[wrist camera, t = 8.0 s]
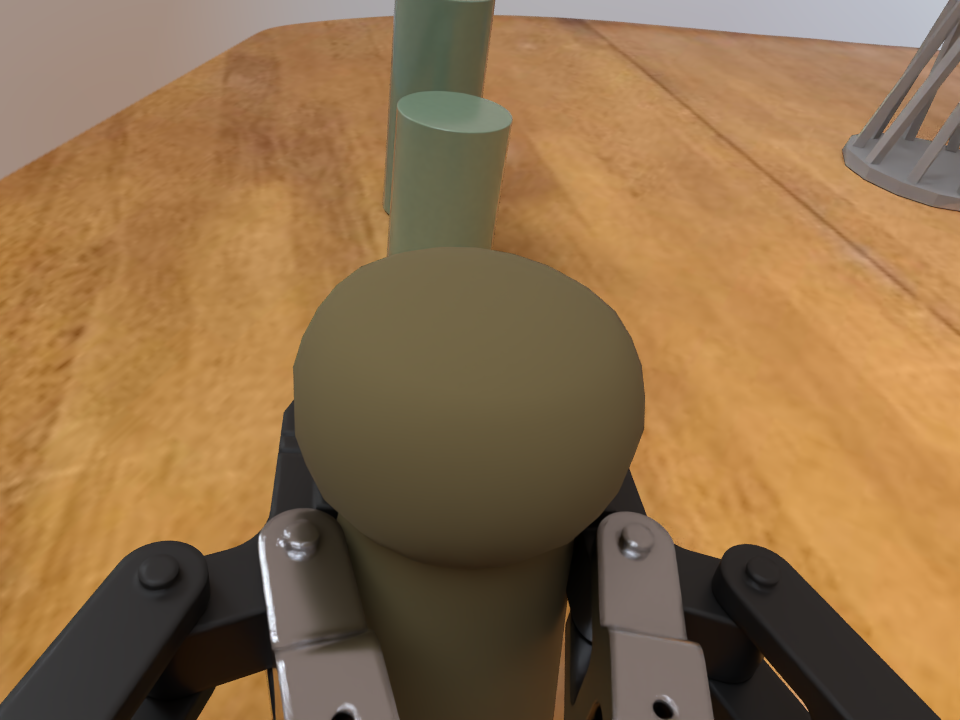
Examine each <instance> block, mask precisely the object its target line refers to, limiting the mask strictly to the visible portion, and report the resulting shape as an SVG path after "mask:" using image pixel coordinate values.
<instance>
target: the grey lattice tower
mask: <svg viewBox="0 0 960 720" xmlns="http://www.w3.org/2000/svg"><path fill="white" fill-rule="evenodd" d="M944 40H945V41H944ZM943 42H944V43H943ZM942 43H943V46H942V48H941V50H940V52H939V54H938V57H937V59H936V61H935V63H934V65H933V68H932V70H931V72H930V74H929V77H928V78H927V79H926V81H925V82H924V83H923V84H922V86H921V87H920V88H919V90H918V91H917V92H916V94H915V95H914V96H913V97H912V99H911V100H910V101H909V103H908V104H907V105H906V107H905V108H904V109H903V110H902V112H901V113H900V114H899V116H898V117H897V118H896V120H895V121H894V122H893V123H892V125H891V126H890V127H889V129H888V130H887V131H886V132H885V133H882V132H883V131H884V129H885V128H886V126H887V124H888V123H889V121H890V120H891V118H892V116H893V115H894V113H895V112H896V110H897V109H898V107H899V105H900V104H901V102H902V101H903V99H904V97H905V96H906V94H907V93H908V91H909V89H910V88H911V86H912V85H913V83H914V82H915V80H916V78H917V77H918V75H919V74H920V72H921V71H922V69H923V68H924V67H925V65H926V64H927V63H928V61H929V60H930V59H931V57H932V56H933V55H934V54H935V52H936V51H937V50H938V48H939V47H940V46H941V44H942ZM959 62H960V0H949V1H948V3H947V5H946V6H945V8H944V9H943V11H942V13H941V14H940V16H939V18H938V19H937V21H936V22H935V24H934V26H933V27H932V29H931V30H930V32H929V34H928V35H927V37H926V38H925V40H924V42H923V43H922V45H921V47H920V48H919V50H918V51H917V53H916V55H915V56H914V58H913V59H912V61H911V63H910V64H909V66H908V67H907V69H906V71H905V72H904V74H903V76H902V77H901V78H900V80H899V81H898V82H897V84H896V85H895V86H894V88H893V89H892V90H891V92H890V93H889V94H888V96H887V97H886V99H885V100H884V101H883V103H882V104H881V105H880V107H879V108H878V109H877V111H876V112H875V113H874V115H873V116H872V117H871V119H870V120H869V122H868V123H867V124H866V126H865V127H864V128H863V130H862V131H861V132H860V134H857V135H852V136H851V137H850V139H849V140H848V142H847V143H846V145H845V146H844V148H843V149H842V151H843V156H844V160H845V165H846V166H848V167H849V168H850V169H852V170H853V171H854V172H856V173H857V174H858V175H860V176H861V177H862V178H863V179H865V180H867V181H869V182H871V183H873V184H875V185H877V186H880V187H882V188H884V189H886V190H888V191H890V192H892V193H894V194H896V195H899V196H902V197H906V198H909V199H912V200H915V201H918V202H921V203H924V204H927V205H930V206H934V207H939V208H945V209H951V210H957V211H960V150H959V146H960V102H959V103H958V105H957V106H956V107H955V109H954V110H953V112H952V113H951V115H950V116H949V118H948V119H947V121H946V122H945V123H944V125H943V126H942V128H941V129H940V131H939V132H938V134H937V135H936V137H935V138H934V140H933V141H929V140H924V139H919V138H915V137H916V135H917V133H918V131H919V129H920V126H921V124H922V122H923V120H924V118H925V116H926V114H927V112H928V109H929V107H930V105H931V103H932V101H933V99H934V97H935V95H936V92H937V90H938V88H939V87H940V86H941V85H942V83H943V82H944V81H945V79H946V78H947V77H948V76H949V74H950V73H951V72H952V71H953V69H954V68H955V67H956V65H957V64H958V63H959ZM949 138H950V139H949ZM948 139H949V142H948V145H947V146H946V145H945V144H946V142H947V141H948Z"/></svg>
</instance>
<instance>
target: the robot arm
mask: <svg viewBox="0 0 960 720" xmlns="http://www.w3.org/2000/svg"><path fill="white" fill-rule="evenodd" d="M337 516H338V512H337V511H336V510H335V509H334V508H333V507H332V506H331V505H329V504H328V503H327V502H326V501H325V500H324V499H323V497H322V495H321V493H320V491H319V489H318V487H317V485H316V483H315V481H314V479H313V477H312V475H311V474H310V472H309V470H308V468H307V466H306V464H305V461H304V458H303V456H302V453H301V450H300V447H299V445H298V442H297V439H296V436H295V417H294V400H293V401H292V403H291V404H290V405H289V407H288V408H287V409H286V410H285V412H284V415H283V422H282V430H281V437H280V444H279V453H278V459H277V466H276V474H275V481H274V488H273V496H272V503H271V510H270V515H269V518H268V520H267V522H266V524H265V525H264V527H263V528H262V530H261V531H260V532H259V533H258V534H257V535H255V536H254V537H253V538H252V539H250V540H249V541H247V542H245V543H244V544H241V545H239V546H237V547H234V548H231V549H228V550H224V551H221V552H217V553H213V554H209V555H205V556H203V554H202V553H201V552H200V551H199V550H198V549H196V548H195V547H193V546H191V545H189V544H186V543H183V542H179V541H160V542H154V543H151V544H147V545H145V546H142V547H140V548H138V549H136V550H134V551H133V552H131V553H130V554H128V555H127V556H126V557H124V558H123V559H122V560H121V561H120V562H119V564H118V565H117V566H116V567H115V568H114V570H113V571H112V572H111V573H110V574H109V575H108V577H107V578H106V579H105V580H104V581H103V583H102V584H101V585H100V586H99V587H98V589H97V590H96V591H95V592H94V593H93V595H92V596H91V597H90V598H89V599H88V601H87V602H86V603H85V604H84V605H83V606H82V608H81V609H80V610H79V611H78V612H77V614H76V615H75V616H74V617H73V618H72V620H71V621H70V622H69V623H68V624H67V626H66V627H65V628H64V629H63V630H62V632H61V633H60V634H59V635H58V636H57V637H56V639H55V640H54V641H53V642H52V643H51V645H50V646H49V647H48V648H47V649H46V651H45V652H44V653H43V654H42V655H41V657H40V658H39V659H38V660H37V661H36V662H35V664H34V665H33V666H32V667H31V668H30V670H29V671H28V672H27V673H26V674H25V676H24V677H23V678H22V679H21V680H20V682H19V683H18V684H17V685H16V686H15V688H14V689H13V690H12V691H11V692H10V693H9V695H8V696H7V697H6V698H5V699H4V701H3V702H2V703H1V704H0V720H197V718H198V716H199V715H200V713H201V711H202V710H203V708H204V706H205V705H206V703H207V701H208V700H209V698H210V696H211V695H212V693H213V691H214V689H215V687H216V686H218V685H221V684H224V683H227V682H230V681H233V680H236V679H239V678H242V677H245V676H248V675H251V674H254V673H257V672H260V671H263V670H266V677H267V685H268V693H269V701H270V709H271V717H272V720H400V719H399V715H398V712H397V708H396V704H395V700H394V696H393V692H392V688H391V684H390V680H389V677H388V673H387V669H386V665H385V661H384V657H383V653H382V649H381V646H380V642H379V639H378V636H377V634H376V632H375V631H374V630H369V628H368V626H367V623H366V619H365V615H364V611H363V607H362V603H361V599H360V595H359V591H358V587H357V583H356V579H355V575H354V571H353V567H352V563H351V558H350V554H349V550H348V545H347V542H346V538H345V534H344V531H343V529H342V527H341V525H340V524H339V522H338V521H337ZM566 593H567V597H568V602H569V606H570V613H569V616H568V619H567V622H566V627H565V697H564V720H941V719H940V718H939V717H938V716H937V715H936V714H935V713H934V712H933V711H932V710H931V708H930V707H929V706H928V705H927V704H926V703H925V702H924V701H923V700H922V699H921V698H920V697H919V696H918V695H917V694H916V693H915V692H914V691H913V690H912V689H911V688H910V687H909V686H908V685H907V684H906V683H905V682H904V681H903V680H902V679H901V678H900V677H899V676H898V675H897V674H896V673H895V672H894V671H893V670H892V669H891V668H890V667H889V666H888V664H887V663H886V662H885V661H884V660H883V659H882V658H881V657H880V656H879V655H878V654H877V653H876V652H875V651H874V650H873V649H872V648H871V647H870V646H869V645H868V644H867V643H866V642H865V641H864V640H863V639H862V638H861V637H860V636H859V635H858V634H857V633H856V632H855V631H854V630H853V629H852V628H851V627H850V626H849V625H848V624H847V623H846V622H845V621H844V619H843V618H842V617H841V616H840V615H839V614H838V613H837V612H836V611H835V610H834V609H833V608H832V607H831V606H830V605H829V604H828V603H827V602H826V601H825V600H824V599H823V598H822V597H821V596H820V595H819V594H818V593H817V592H816V591H815V590H814V589H813V588H812V587H811V586H810V585H809V584H808V583H807V582H806V581H805V580H804V579H803V578H802V577H801V575H800V574H799V573H798V572H797V571H796V570H795V569H794V568H793V567H792V566H791V565H790V564H789V563H788V562H787V561H785V560H784V559H783V558H782V557H780V556H779V555H778V554H776V553H774V552H772V551H771V550H768V549H766V548H764V547H760V546H757V545H751V544H741V545H736V546H733V547H731V548H729V549H728V550H727V551H726V552H725V553H724V555H723V557H722V559H718V558H715V557H711V556H708V555H704V554H700V553H697V552H693V551H690V550H687V549H684V548H681V547H679V546H677V545H675V544H674V543H673V540H672V538H671V536H670V535H669V533H668V532H667V531H666V530H665V529H664V527H662V526H661V525H660V524H659V523H658V522H656V521H655V520H653V519H651V518H649V517H647V515H646V513H645V510H644V507H643V504H642V502H641V499H640V496H639V494H638V491H637V488H636V486H635V483H634V480H633V478H632V475H631V472H630V470H629V469H628V471H627V474H626V476H625V478H624V481H623V483H622V485H621V488H620V490H619V492H618V494H617V495H616V496H615V497H614V499H613V500H612V501H611V502H610V504H609V505H608V506H607V507H606V509H605V510H604V511H603V512H602V513H601V515H600V516H599V517H598V518H597V519H596V520H594V521H593V522H592V523H591V524H590V525H589V526H588V527H586V528H585V529H584V530H583V531H582V532H581V533H580V534H578V535H577V536H576V537H575V538H574V546H573V555H572V561H571V566H570V572H569V577H568V582H567V588H566ZM764 657H765V658H766V659H767V660H768V661H769V662H770V664H771V665H772V666H773V667H774V668H775V669H776V671H777V672H778V673H779V674H780V675H781V676H782V678H783V679H784V680H785V681H786V682H787V683H788V685H789V686H790V687H791V688H792V689H793V690H794V692H795V693H796V694H797V695H798V696H799V697H800V699H801V700H802V701H803V702H804V704H805V705H806V707H807V709H808V711H809V712H808V711H807V710H806V709H805V707H804V706H803V705H802V704H801V703H800V701H799V700H798V699H797V698H796V697H795V696H794V694H793V693H792V692H791V691H790V690H789V689H788V687H787V686H786V685H785V684H784V683H783V682H782V680H781V679H780V678H779V677H778V676H777V675H776V673H775V672H774V671H773V670H772V669H771V667H770V666H769V665H768V664H767V663H766V662H765V660H764V659H763V658H764Z"/></svg>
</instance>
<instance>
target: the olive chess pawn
mask: <svg viewBox="0 0 960 720" xmlns="http://www.w3.org/2000/svg"><path fill="white" fill-rule="evenodd" d="M293 375H294V417H295V436H296V439H297V442H298V445H299V447H300V450H301V453H302V456H303V458H304V461H305V464H306V466H307V468H308V470H309V472H310V474H311V475H312V477H313V479H314V481H315V483H316V485H317V487H318V489H319V491H320V493H321V495H322V497H323V499H324V500H325V501H326V502H327V503H328V504H329V505H331V506H332V507H333V508H334V509H335V510H336V511H337V512H338V516H337V521H338V522H339V524H340V525H341V527H342V529H343V531H344V534H345V538H346V542H347V545H348V550H349V554H350V558H351V563H352V567H353V571H354V575H355V579H356V583H357V587H358V591H359V595H360V599H361V603H362V607H363V611H364V615H365V619H366V623H367V626H368V628H369V630H374V631H375V632H376V634H377V636H378V639H379V642H380V646H381V649H382V653H383V657H384V661H385V665H386V669H387V673H388V677H389V680H390V684H391V688H392V692H393V696H394V700H395V704H396V708H397V712H398V715H399V719H400V720H553V716H554V708H555V699H556V691H557V683H558V674H559V666H560V657H561V649H562V641H563V632H564V624H565V615H566V607H567V598H568V597H567V593H566V588H567V582H568V577H569V572H570V566H571V561H572V555H573V546H574V538H575V537H576V536H577V535H578V534H580V533H581V532H582V531H583V530H584V529H585V528H586V527H588V526H589V525H590V524H591V523H592V522H593V521H594V520H596V519H597V518H598V517H599V516H600V515H601V513H602V512H603V511H604V510H605V509H606V507H607V506H608V505H609V504H610V502H611V501H612V500H613V499H614V497H615V496H616V495H617V494H618V492H619V490H620V488H621V485H622V483H623V481H624V478H625V476H626V474H627V471H628V469H629V467H630V464H631V462H632V460H633V457H634V455H635V452H636V449H637V447H638V444H639V441H640V439H641V436H642V433H643V430H644V414H645V393H644V383H643V374H642V365H641V362H640V360H639V357H638V354H637V351H636V349H635V346H634V343H633V341H632V338H631V336H630V335H629V333H628V331H627V330H626V328H625V326H624V325H623V323H622V321H621V320H620V318H619V317H618V315H617V313H616V312H615V311H614V310H613V309H612V308H611V307H610V306H609V305H607V304H606V303H605V302H604V301H603V300H602V299H600V298H599V297H598V296H597V295H596V294H595V293H594V292H592V291H591V290H590V289H589V288H587V287H586V286H584V285H582V284H581V283H579V282H577V281H576V280H574V279H572V278H570V277H568V276H566V275H564V274H563V273H561V272H559V271H557V270H555V269H553V268H552V267H550V266H548V265H545V264H542V263H539V262H536V261H533V260H530V259H527V258H524V257H521V256H518V255H515V254H511V253H506V252H500V251H494V250H489V249H483V248H477V247H435V248H428V249H421V250H414V251H407V252H403V253H398V254H394V255H391V256H389V257H386V258H383V259H380V260H378V261H375V262H372V263H370V264H367V265H364V266H361V267H360V268H359V269H357V270H356V271H355V272H353V273H352V274H351V275H350V276H348V277H347V278H346V279H344V280H343V281H342V282H340V283H339V284H338V285H336V287H335V288H334V289H333V290H332V291H331V293H330V294H329V295H328V296H327V298H326V299H325V300H324V301H323V302H322V304H321V305H320V306H319V307H318V309H317V311H316V313H315V314H314V316H313V318H312V320H311V322H310V324H309V326H308V328H307V329H306V331H305V333H304V335H303V337H302V340H301V344H300V347H299V350H298V353H297V356H296V360H295V363H294V366H293Z"/></svg>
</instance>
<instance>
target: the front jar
mask: <svg viewBox="0 0 960 720" xmlns="http://www.w3.org/2000/svg"><path fill="white" fill-rule="evenodd" d="M512 120H513V119H512V116H511V114H510V112H509V111H508V110H506V109H505V108H504V107H502V106H501V105H499V104H497V103H494V102H492V101H490V100H487V99H484V98H481V97H477V96H473V95H469V94H464V93H457V92H448V91H425V92H417V93H412V94H409V95H406V96H404V97H402V98H401V99H400V100H399V101H398V103H397V109H396V124H395V139H394V155H393V170H392V185H391V200H390V215H389V230H388V246H387V257H389V256H391V255H394V254H398V253H403V252H407V251H414V250H421V249H428V248H435V247H477V248H483V249H489V250H492V248H493V241H494V235H495V229H496V222H497V216H498V209H499V203H500V197H501V190H502V184H503V178H504V171H505V165H506V158H507V152H508V146H509V139H510V133H511V127H512Z"/></svg>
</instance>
